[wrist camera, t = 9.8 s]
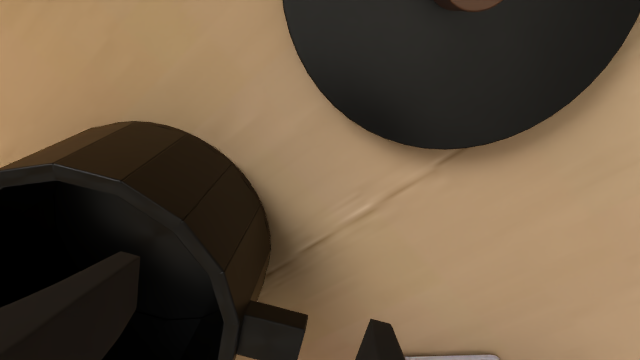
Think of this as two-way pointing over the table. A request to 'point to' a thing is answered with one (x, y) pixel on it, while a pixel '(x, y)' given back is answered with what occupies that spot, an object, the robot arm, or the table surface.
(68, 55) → the table surface
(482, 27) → the cooker lid
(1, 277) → the cooker
